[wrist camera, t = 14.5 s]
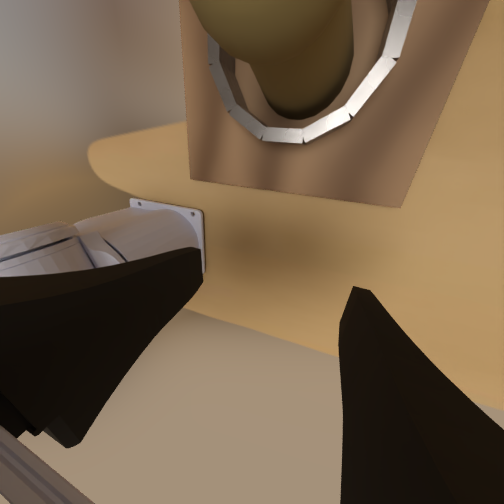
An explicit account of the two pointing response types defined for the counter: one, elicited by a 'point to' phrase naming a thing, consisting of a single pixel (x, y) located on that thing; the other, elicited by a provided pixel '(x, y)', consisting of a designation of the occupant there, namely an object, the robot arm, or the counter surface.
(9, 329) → the robot arm
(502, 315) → the counter surface
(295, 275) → the counter surface
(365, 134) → the walnut mat
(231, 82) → the collar
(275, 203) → the counter surface
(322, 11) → the cork
